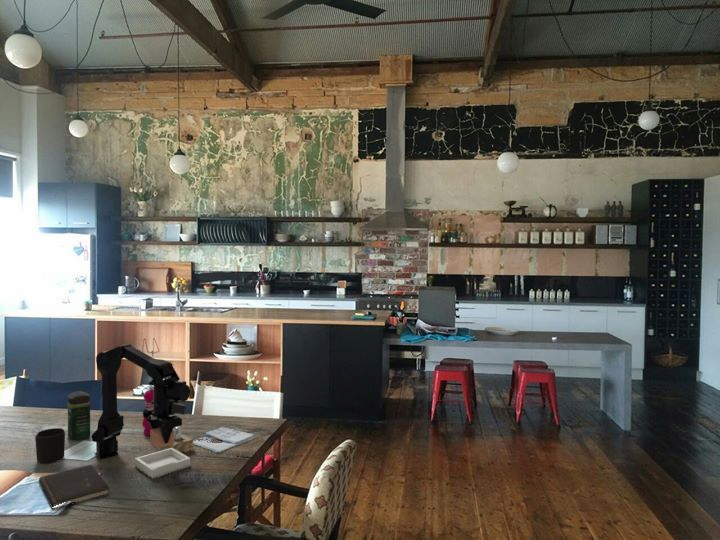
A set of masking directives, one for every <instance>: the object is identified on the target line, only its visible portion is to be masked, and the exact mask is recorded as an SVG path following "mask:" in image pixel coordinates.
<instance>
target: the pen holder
mask: <svg viewBox="0 0 720 540" xmlns="http://www.w3.org/2000/svg"><path fill="white" fill-rule="evenodd" d="M34 438H35V439H34V440H35V452H36V462H37V463H38V464H41V465H45V464H47V465H48V464H54V463H57V462H59V460H60V461H62V460H63V459H64V457H65V448H66V444H65V443H66V431H65V429H63V428H59V427H58V428H57V427H54V428H47V429H44V430H43V429H42V430H40V431H39V432H37V433H36V435H35V437H34ZM62 458H63V459H62Z"/></svg>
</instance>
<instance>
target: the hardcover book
mask: <svg viewBox="0 0 720 540" xmlns="http://www.w3.org/2000/svg"><path fill="white" fill-rule="evenodd" d="M38 482H39V484H41V485H40V486H42V487H41V489H42V488H43V489H42V491H43V490H44V491H43V492H45V493H44V495H45V494H46V495H45V496H47V497H46V499H47V498H48V499H47V501H48V500H49V501H48V503H49V502H50V503H49V505H50V504H51V505H50V507H51V506H52V507H54V506H56V505H59V504H62V503H64V502H68V501H71V502H76V503H79V502H83V501H86V500H90V499H93V497H94V498H96V497H100V495H101V496H103V494H104V495H106V494H107V493H108V494H109V490H110V489H111V488H110V486H109V485H108V484H107V483H106V482H105V480H104V479H103V477H102V476H101V475H100V474H99V472H98V470H96V468H95V467H94V466H93V465H92V464H88V465H83V466H79V467H74V468H71V469H67V470H63V471H58V472H54V473H50V474H46V475H42V476H40V477H39V478H38ZM108 494H107V495H108ZM82 500H83V501H82ZM78 501H79V502H78ZM52 507H51V508H52Z"/></svg>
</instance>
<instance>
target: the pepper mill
mask: <svg viewBox="0 0 720 540" xmlns="http://www.w3.org/2000/svg"><path fill="white" fill-rule="evenodd" d="M143 400H144V406H145V407H146V408H145V409H147V408H151V407H154V405H153V404H151V401H153V400H154V385H149V387H148V390H146V391H145V392H144V394H143ZM142 418H143V419H142V424H141V425H142V427H143V428H144V429H143V435H144V434H145V435H144V436H149V435H150V430H151V429H152V428H151V427H150V425H149V423H148V421H147V420H146V419H149V417H148V418H144V417H142Z"/></svg>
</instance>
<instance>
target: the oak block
mask: <svg viewBox="0 0 720 540" xmlns="http://www.w3.org/2000/svg"><path fill="white" fill-rule="evenodd" d="M193 441H194V439H193V438H191V437H189V436H188V435H185V434H182V433H181V441H178V442H175V435H174V444H171V445H168V446H164V447H163V450H165V449H169V448H174V449H175V450H177V451H179V452H181V453H182V452H185V453H187V452H186V451H188V452H190V451H189V450H191V451H193V450H194V445H193ZM192 449H193V450H192ZM182 454H183V453H182Z"/></svg>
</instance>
